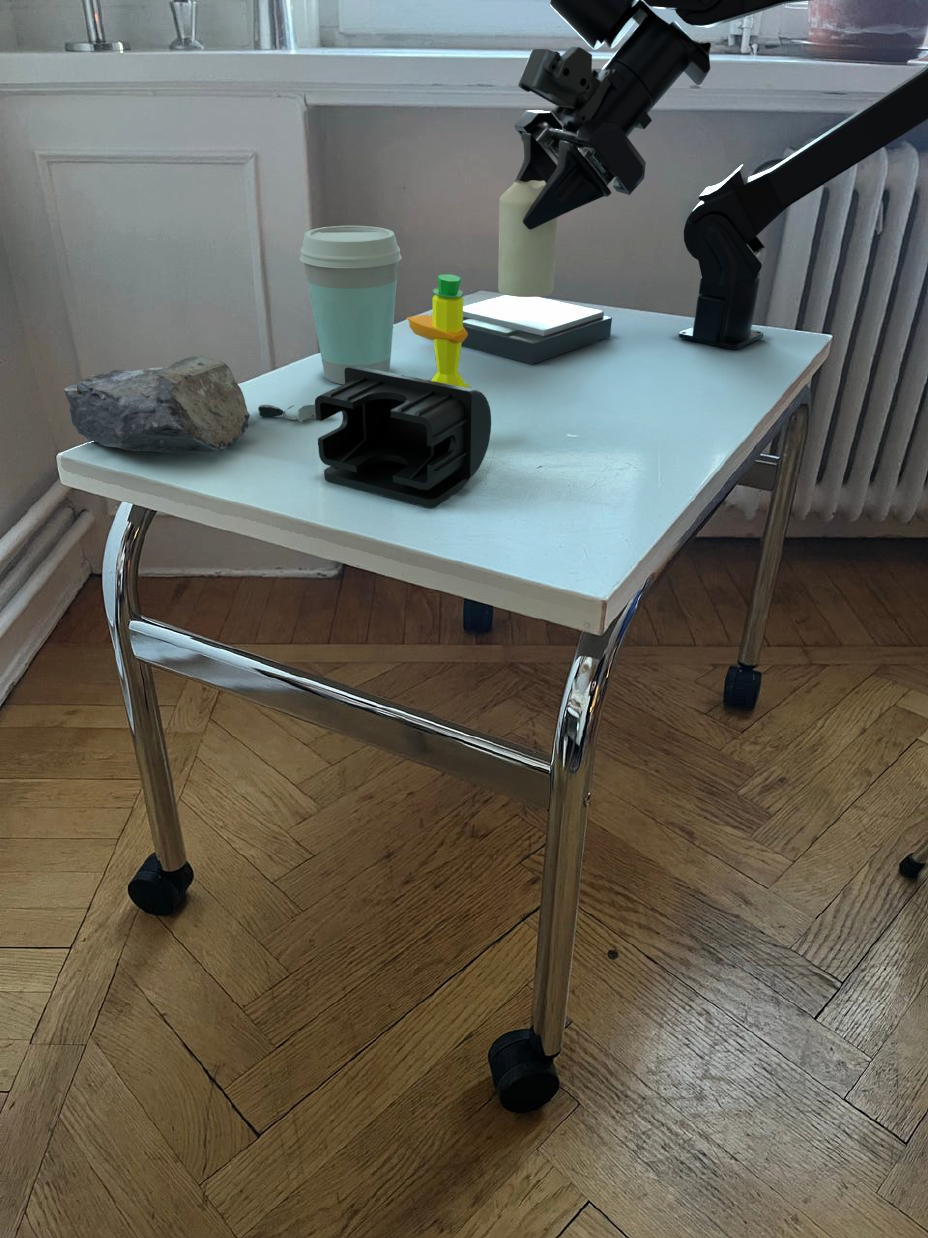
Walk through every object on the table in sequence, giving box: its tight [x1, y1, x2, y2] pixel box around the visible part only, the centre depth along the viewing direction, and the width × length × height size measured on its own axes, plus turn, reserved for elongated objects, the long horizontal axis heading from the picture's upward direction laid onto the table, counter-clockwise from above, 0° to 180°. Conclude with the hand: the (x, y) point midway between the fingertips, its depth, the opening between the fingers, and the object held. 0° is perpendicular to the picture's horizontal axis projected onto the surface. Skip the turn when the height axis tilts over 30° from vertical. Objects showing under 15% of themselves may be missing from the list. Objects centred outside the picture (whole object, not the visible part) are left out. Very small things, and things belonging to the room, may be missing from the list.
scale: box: [461, 294, 613, 365], centre depth 93 cm, size 13×13×3 cm
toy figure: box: [406, 273, 473, 389], centre depth 66 cm, size 7×4×12 cm, turn 43°
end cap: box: [314, 366, 492, 509], centre depth 62 cm, size 10×7×7 cm
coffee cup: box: [299, 225, 403, 385], centre depth 79 cm, size 8×8×12 cm
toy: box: [257, 404, 316, 424], centre depth 72 cm, size 1×8×2 cm
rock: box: [63, 355, 251, 455], centre depth 67 cm, size 14×11×5 cm
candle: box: [497, 179, 558, 298], centre depth 88 cm, size 6×6×10 cm
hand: (514, 220), depth 87 cm, fingers closed on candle, 5 cm apart
